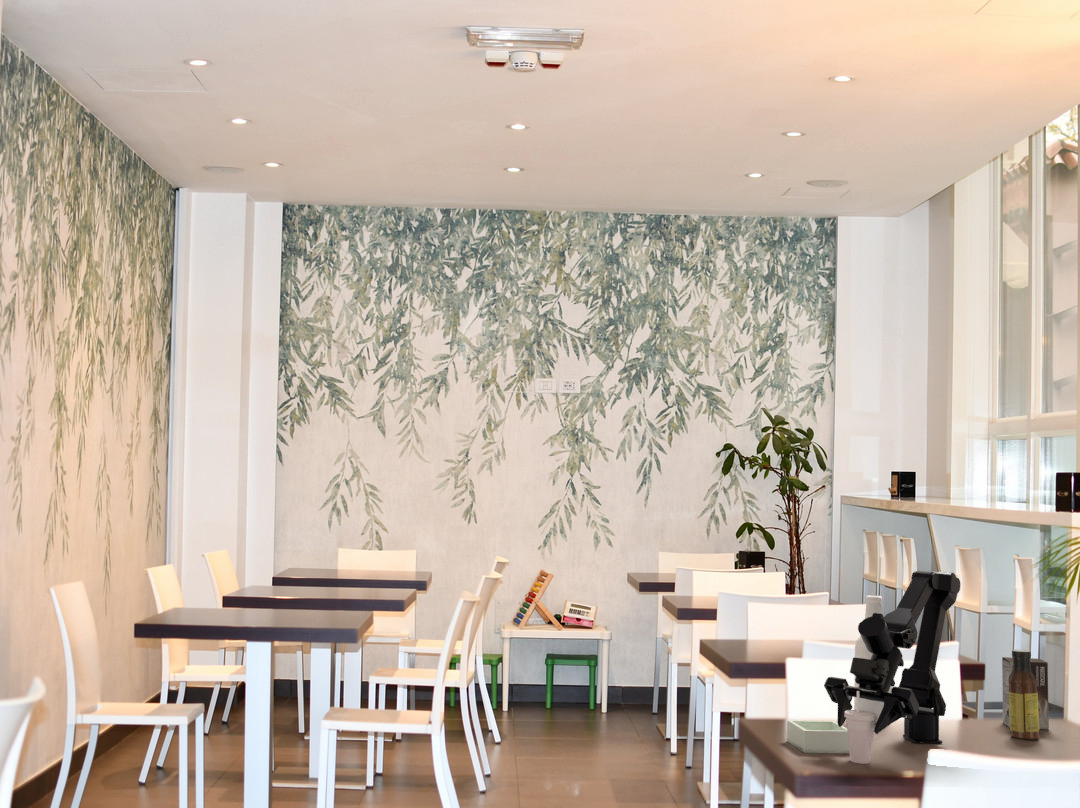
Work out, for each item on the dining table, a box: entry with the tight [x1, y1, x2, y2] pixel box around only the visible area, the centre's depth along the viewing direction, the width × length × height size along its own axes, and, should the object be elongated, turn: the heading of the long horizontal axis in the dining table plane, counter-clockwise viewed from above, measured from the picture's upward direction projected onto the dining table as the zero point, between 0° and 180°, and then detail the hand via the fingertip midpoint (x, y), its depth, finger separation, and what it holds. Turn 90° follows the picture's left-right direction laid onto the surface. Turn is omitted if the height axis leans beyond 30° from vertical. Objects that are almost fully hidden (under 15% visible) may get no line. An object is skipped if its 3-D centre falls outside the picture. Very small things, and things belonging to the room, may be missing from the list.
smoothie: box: [844, 691, 877, 765], centre depth 218 cm, size 6×6×14 cm
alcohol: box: [853, 594, 892, 724], centre depth 263 cm, size 9×9×30 cm
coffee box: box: [1001, 656, 1050, 730], centre depth 262 cm, size 9×6×16 cm
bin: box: [786, 719, 850, 754], centre depth 230 cm, size 11×11×4 cm
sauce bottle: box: [1008, 649, 1040, 741], centre depth 249 cm, size 6×6×20 cm
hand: (857, 728), depth 217 cm, fingers open, 8 cm apart
